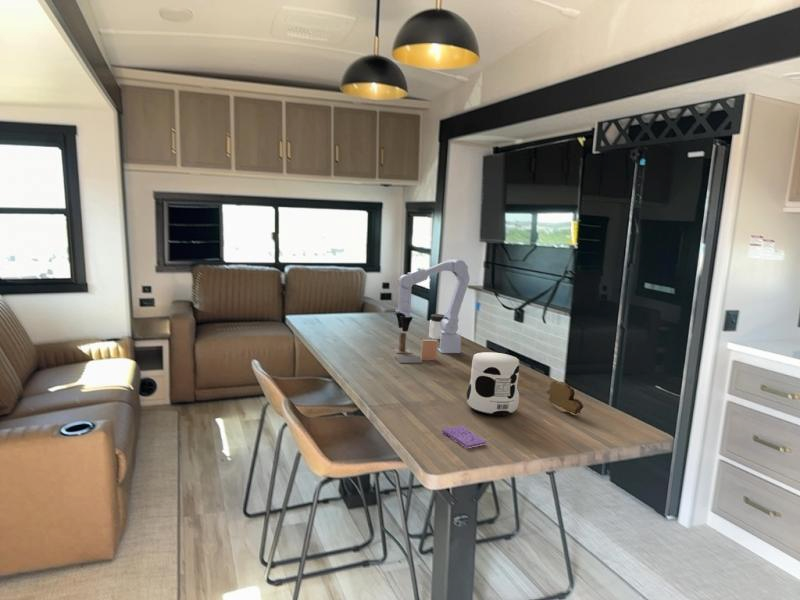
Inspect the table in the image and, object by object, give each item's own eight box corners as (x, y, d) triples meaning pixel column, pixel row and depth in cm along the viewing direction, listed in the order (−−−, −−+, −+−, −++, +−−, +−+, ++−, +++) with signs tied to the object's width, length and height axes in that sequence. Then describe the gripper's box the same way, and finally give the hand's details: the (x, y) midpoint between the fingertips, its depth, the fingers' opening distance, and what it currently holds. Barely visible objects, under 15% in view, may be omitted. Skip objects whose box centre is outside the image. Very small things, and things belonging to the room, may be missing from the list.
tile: (435, 359, 240) (436, 339, 238) (436, 360, 238) (437, 340, 237) (420, 359, 238) (421, 339, 237) (421, 360, 237) (422, 340, 235)
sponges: (466, 451, 148) (467, 444, 148) (441, 433, 159) (441, 427, 158) (486, 447, 151) (487, 440, 151) (460, 430, 162) (461, 424, 162)
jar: (426, 336, 285) (427, 314, 283) (439, 335, 289) (441, 313, 287) (434, 340, 277) (436, 317, 275) (448, 339, 281) (449, 316, 279)
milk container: (482, 397, 192) (486, 348, 189) (526, 410, 181) (531, 359, 178) (455, 409, 179) (459, 357, 176) (501, 424, 168) (507, 368, 165)
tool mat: (416, 357, 241) (416, 356, 241) (422, 363, 231) (422, 362, 231) (394, 357, 239) (394, 356, 239) (400, 363, 229) (400, 362, 229)
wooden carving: (586, 418, 177) (589, 389, 175) (575, 420, 175) (579, 391, 173) (550, 402, 191) (553, 375, 190) (541, 403, 189) (543, 376, 188)
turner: (408, 350, 253) (409, 332, 252) (411, 353, 247) (412, 335, 246) (393, 350, 251) (394, 332, 250) (396, 353, 245) (397, 335, 244)
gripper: (392, 298, 253) (391, 326, 255) (400, 303, 239) (398, 332, 241) (407, 298, 254) (405, 326, 257) (415, 303, 241) (413, 332, 243)
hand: (403, 329), depth 249 cm, fingers open, 7 cm apart
